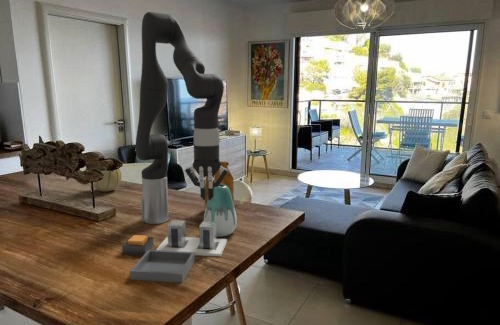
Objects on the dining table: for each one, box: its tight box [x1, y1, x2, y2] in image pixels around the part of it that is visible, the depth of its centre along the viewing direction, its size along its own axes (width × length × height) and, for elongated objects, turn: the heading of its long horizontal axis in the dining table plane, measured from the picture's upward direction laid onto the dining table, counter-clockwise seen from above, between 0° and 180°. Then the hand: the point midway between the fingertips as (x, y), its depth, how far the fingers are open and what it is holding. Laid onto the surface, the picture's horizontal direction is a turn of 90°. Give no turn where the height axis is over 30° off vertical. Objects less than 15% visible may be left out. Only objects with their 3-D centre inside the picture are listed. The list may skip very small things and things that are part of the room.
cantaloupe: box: [93, 168, 123, 192], centre depth 181 cm, size 15×15×15 cm
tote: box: [129, 249, 196, 283], centre depth 102 cm, size 14×13×4 cm
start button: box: [127, 234, 149, 245], centre depth 113 cm, size 4×4×2 cm
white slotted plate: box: [155, 235, 228, 257], centre depth 116 cm, size 20×11×2 cm, turn 84°
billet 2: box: [198, 221, 218, 250], centre depth 115 cm, size 4×5×9 cm
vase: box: [203, 184, 238, 238], centre depth 129 cm, size 12×12×18 cm
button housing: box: [121, 235, 155, 256], centre depth 114 cm, size 7×7×4 cm
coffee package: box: [204, 161, 235, 209], centre depth 151 cm, size 10×12×22 cm
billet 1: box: [166, 219, 187, 248], centre depth 116 cm, size 4×5×9 cm
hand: (207, 199), depth 112 cm, fingers closed
